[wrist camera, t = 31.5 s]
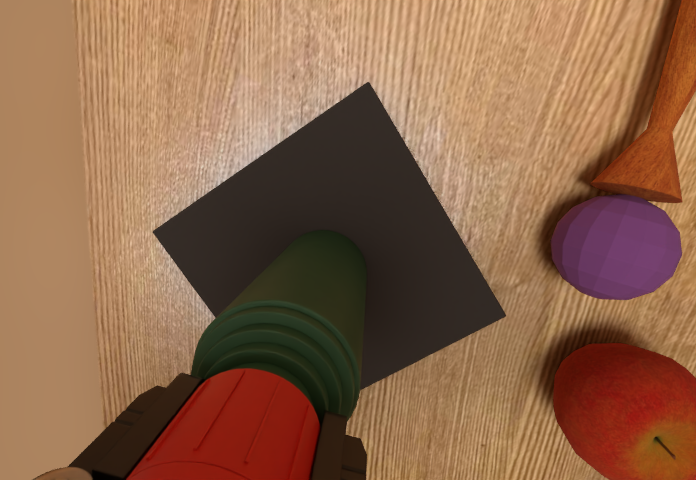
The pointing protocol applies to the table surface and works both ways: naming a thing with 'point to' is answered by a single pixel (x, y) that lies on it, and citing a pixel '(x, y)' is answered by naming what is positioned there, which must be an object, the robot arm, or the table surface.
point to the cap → (237, 432)
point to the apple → (628, 412)
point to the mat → (349, 220)
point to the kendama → (634, 195)
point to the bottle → (298, 323)
